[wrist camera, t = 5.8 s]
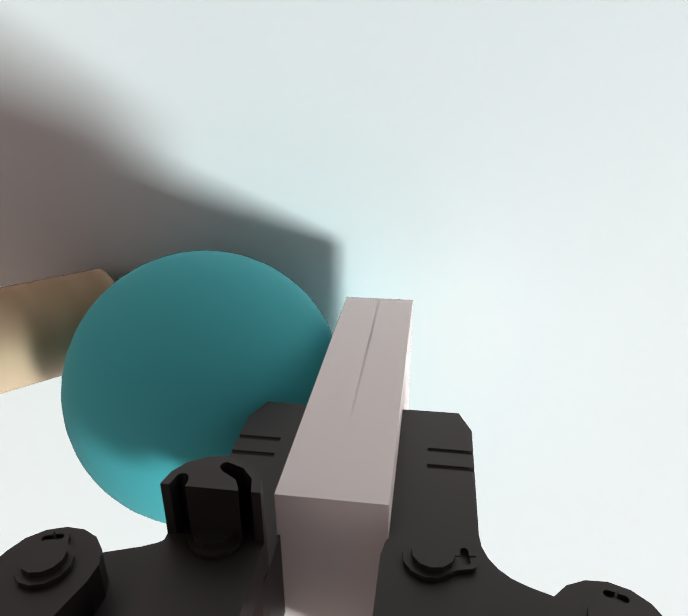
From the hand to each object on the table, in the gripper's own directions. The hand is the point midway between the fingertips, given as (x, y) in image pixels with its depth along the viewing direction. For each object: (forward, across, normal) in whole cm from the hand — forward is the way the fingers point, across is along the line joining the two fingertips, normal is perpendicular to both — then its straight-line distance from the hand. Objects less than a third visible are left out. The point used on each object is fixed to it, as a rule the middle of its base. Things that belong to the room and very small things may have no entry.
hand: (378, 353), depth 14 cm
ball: (-1, -4, 0) cm, 4 cm away
